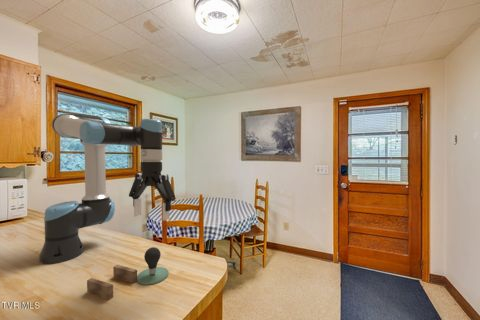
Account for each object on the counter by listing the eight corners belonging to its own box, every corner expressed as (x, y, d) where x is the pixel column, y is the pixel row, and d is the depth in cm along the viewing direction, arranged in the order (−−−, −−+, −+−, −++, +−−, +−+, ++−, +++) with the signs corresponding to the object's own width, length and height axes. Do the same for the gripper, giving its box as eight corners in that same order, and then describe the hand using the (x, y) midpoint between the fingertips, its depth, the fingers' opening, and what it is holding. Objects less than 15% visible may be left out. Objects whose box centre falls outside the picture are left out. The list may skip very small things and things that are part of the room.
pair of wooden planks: (87, 292, 71) (87, 280, 71) (117, 275, 81) (117, 264, 81) (108, 299, 67) (108, 287, 67) (137, 280, 77) (137, 269, 77)
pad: (129, 280, 77) (129, 279, 77) (152, 266, 87) (152, 264, 87) (153, 287, 73) (153, 286, 73) (174, 271, 83) (174, 270, 83)
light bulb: (147, 270, 83) (147, 245, 83) (162, 270, 83) (162, 244, 83) (142, 279, 77) (141, 251, 77) (158, 278, 78) (157, 250, 78)
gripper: (118, 160, 81) (118, 216, 82) (172, 162, 72) (171, 224, 73) (134, 160, 88) (134, 211, 89) (185, 161, 79) (185, 218, 80)
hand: (151, 217), depth 81 cm, fingers open, 13 cm apart
